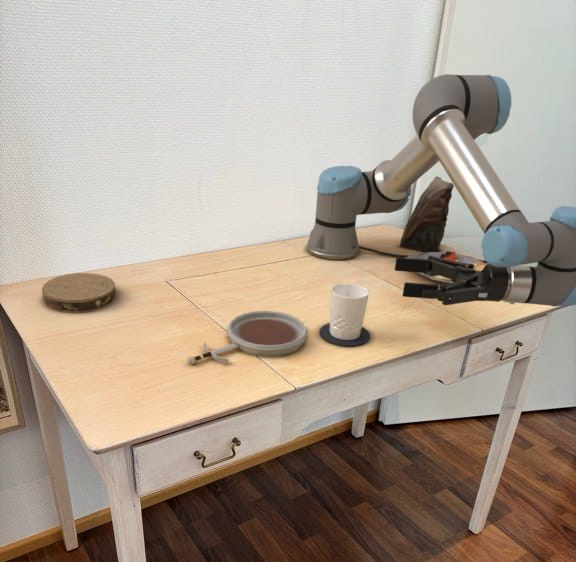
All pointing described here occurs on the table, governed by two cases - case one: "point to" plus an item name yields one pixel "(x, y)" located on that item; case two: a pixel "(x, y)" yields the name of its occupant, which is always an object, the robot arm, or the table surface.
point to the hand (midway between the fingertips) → (399, 276)
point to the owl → (428, 218)
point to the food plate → (449, 256)
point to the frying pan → (261, 335)
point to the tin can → (79, 292)
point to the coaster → (331, 339)
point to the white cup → (347, 310)
